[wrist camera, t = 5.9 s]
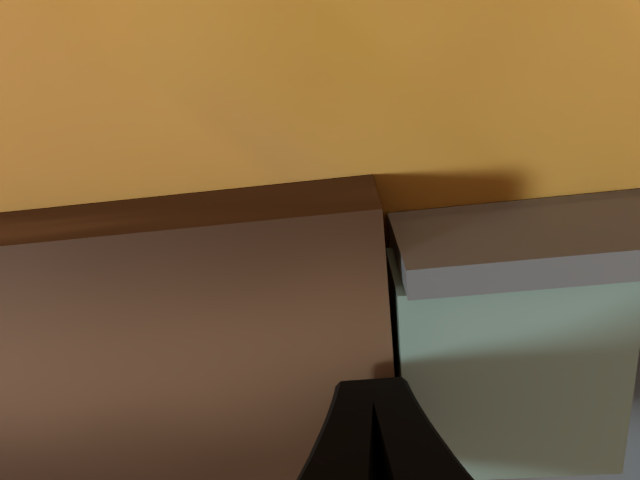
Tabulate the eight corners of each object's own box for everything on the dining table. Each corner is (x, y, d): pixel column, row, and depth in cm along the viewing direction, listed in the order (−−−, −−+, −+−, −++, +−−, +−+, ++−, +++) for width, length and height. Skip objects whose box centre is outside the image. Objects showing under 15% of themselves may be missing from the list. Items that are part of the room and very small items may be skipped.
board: (402, 563, 16) (416, 669, 13) (54, 578, 17) (-3, 681, 14) (372, 174, 12) (382, 208, 9) (-93, 222, 13) (-217, 267, 10)
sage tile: (569, 396, 13) (622, 473, 11) (394, 406, 13) (406, 483, 11) (582, 232, 11) (649, 278, 9) (385, 248, 12) (397, 296, 9)
